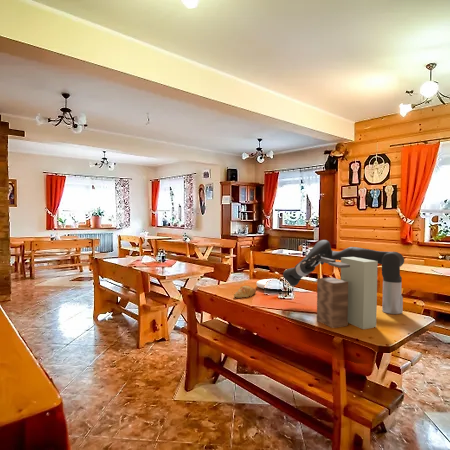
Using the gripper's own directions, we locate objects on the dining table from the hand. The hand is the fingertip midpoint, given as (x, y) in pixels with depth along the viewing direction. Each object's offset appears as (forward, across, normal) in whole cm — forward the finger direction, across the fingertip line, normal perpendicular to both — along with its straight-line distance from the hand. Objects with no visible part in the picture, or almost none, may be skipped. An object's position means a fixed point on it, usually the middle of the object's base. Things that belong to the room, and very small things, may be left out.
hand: (322, 256), depth 171 cm
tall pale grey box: (-5, -12, -34) cm, 37 cm away
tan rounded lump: (-65, +18, -1) cm, 68 cm away
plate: (-75, -11, +5) cm, 76 cm away
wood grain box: (-9, 0, -32) cm, 33 cm away
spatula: (+4, 0, -5) cm, 6 cm away
